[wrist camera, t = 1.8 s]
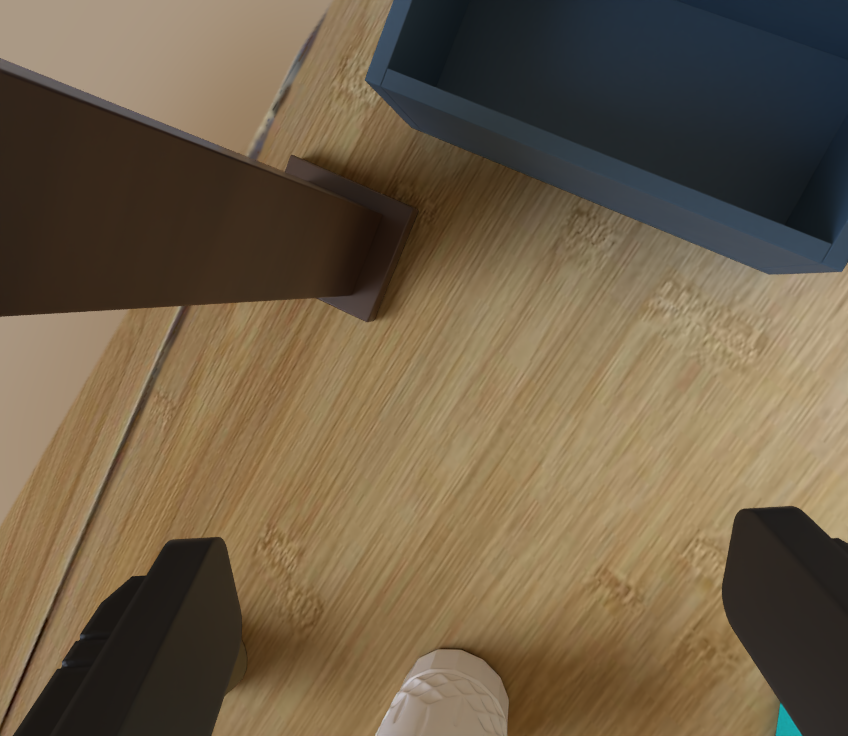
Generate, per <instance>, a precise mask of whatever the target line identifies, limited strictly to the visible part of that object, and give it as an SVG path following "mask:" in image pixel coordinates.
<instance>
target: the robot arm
mask: <svg viewBox="0 0 848 736" xmlns="http://www.w3.org/2000/svg"><path fill="white" fill-rule="evenodd" d="M722 599H723V605H724V609H725V612H726V616H727V618H728V621H729V623H730V625H731V627H732V629H733V630H734V632H735V634H736V635H737V637H738V638H739V640H740V641H741V643H742V644H743V646H744V647H745V649H746V650H747V652H748V653H749V655H750V656H751V658H752V659H753V661H754V663H755V664H756V666H757V667H758V669H759V670H760V672H761V673H762V675H763V676H764V678H765V679H766V681H767V682H768V684H769V685H770V687H771V688H772V690H773V692H774V693H775V695H776V696H777V698H778V699H779V701H780V702H781V704H782V705H783V707H784V708H785V710H786V711H787V713H788V714H789V716H790V718H791V719H792V721H793V722H794V724H795V725H796V727H797V728H798V730H799V731H800V733H801V734H802V736H848V543H846V542H844V541H842V540H841V539H839V538H831V537H830V536H828V535H827V534H826V533H825V532H824V531H823V530H822V529H821V528H820V527H819V526H818V525H817V524H816V523H815V522H814V521H813V520H812V519H811V518H810V517H809V516H807V515H806V514H805V513H804V512H803V511H802V510H801V509H799V508H797V507H794V506H784V507H766V508H749V509H742V510H740V511H739V512H738V513H737V514H736V517H735V519H734V523H733V529H732V534H731V540H730V545H729V551H728V556H727V562H726V567H725V573H724V578H723V583H722ZM241 636H242V615H241V609H240V605H239V600H238V596H237V591H236V587H235V582H234V578H233V573H232V569H231V565H230V560H229V556H228V551H227V547H226V544H225V542H224V540H223V539H222V538H220V537H210V538H192V539H175V540H170V541H168V542H167V543H166V544H165V546H164V547H163V549H162V550H161V552H160V554H159V555H158V557H157V559H156V560H155V562H154V564H153V565H152V567H151V569H150V570H149V572H148V574H147V575H146V576H132V577H131V578H130V579H129V580H127V581H126V582H125V583H124V584H123V585H122V586H120V587H119V588H118V589H117V590H116V591H115V592H113V593H112V594H111V595H110V596H109V597H108V598H107V599H105V600H104V601H103V602H102V603H101V604H100V605H99V607H98V609H97V610H96V612H95V613H94V615H93V616H92V618H91V619H90V621H89V622H88V624H87V625H86V627H85V628H84V630H83V631H82V633H81V634H80V640H79V641H76V642H75V643H74V645H73V646H72V648H71V649H70V651H69V652H68V654H67V655H66V657H65V658H64V660H63V661H62V667H61V669H57V670H56V672H55V673H54V675H53V676H52V678H51V679H50V681H49V682H48V684H47V685H46V687H45V688H44V690H43V691H42V693H41V694H40V696H39V697H38V699H37V700H36V702H35V703H34V705H33V706H32V708H31V709H30V711H29V712H28V714H27V715H26V717H25V718H24V720H23V721H22V723H21V724H20V726H19V727H18V729H17V730H16V732H15V733H14V735H13V736H211V735H212V732H213V729H214V726H215V723H216V720H217V717H218V714H219V711H220V708H221V705H222V702H223V699H224V696H225V693H226V690H227V687H228V684H229V681H230V678H231V675H232V672H233V669H234V666H235V663H236V660H237V657H238V653H239V649H240V644H241Z"/></svg>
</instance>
